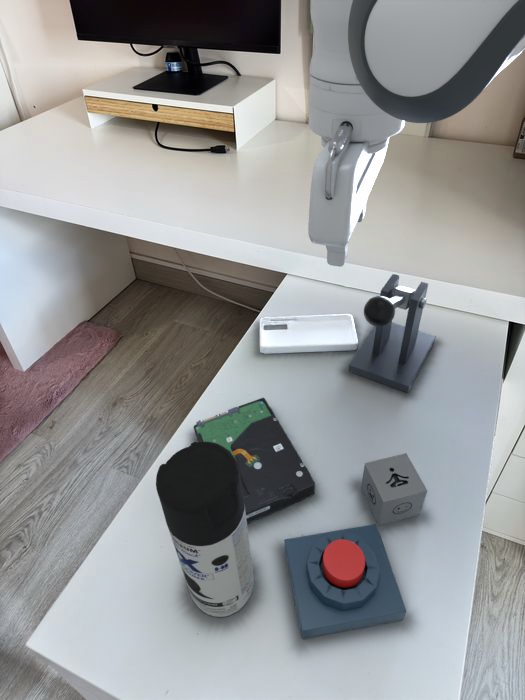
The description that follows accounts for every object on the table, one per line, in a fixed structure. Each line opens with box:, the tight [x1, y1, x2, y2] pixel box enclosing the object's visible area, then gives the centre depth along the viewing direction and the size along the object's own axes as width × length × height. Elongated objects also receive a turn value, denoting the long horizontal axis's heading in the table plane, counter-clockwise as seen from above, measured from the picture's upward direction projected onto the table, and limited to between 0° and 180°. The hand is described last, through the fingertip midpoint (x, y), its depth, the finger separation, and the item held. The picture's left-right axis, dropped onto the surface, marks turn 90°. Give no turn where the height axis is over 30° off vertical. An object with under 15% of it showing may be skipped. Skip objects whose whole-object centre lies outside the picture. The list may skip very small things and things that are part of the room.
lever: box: [363, 285, 416, 327], centre depth 63 cm, size 14×4×4 cm, turn 149°
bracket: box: [348, 273, 436, 393], centre depth 71 cm, size 12×9×13 cm
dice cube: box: [360, 452, 428, 527], centre depth 57 cm, size 5×5×5 cm
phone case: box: [259, 313, 359, 355], centre depth 79 cm, size 7×1×15 cm
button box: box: [283, 523, 407, 640], centre depth 50 cm, size 10×9×4 cm
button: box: [322, 540, 365, 588], centre depth 49 cm, size 4×4×2 cm
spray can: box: [155, 441, 255, 618], centre depth 45 cm, size 7×7×20 cm
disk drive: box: [193, 397, 316, 524], centre depth 62 cm, size 10×3×15 cm
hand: (346, 239), depth 55 cm, fingers open, 8 cm apart
